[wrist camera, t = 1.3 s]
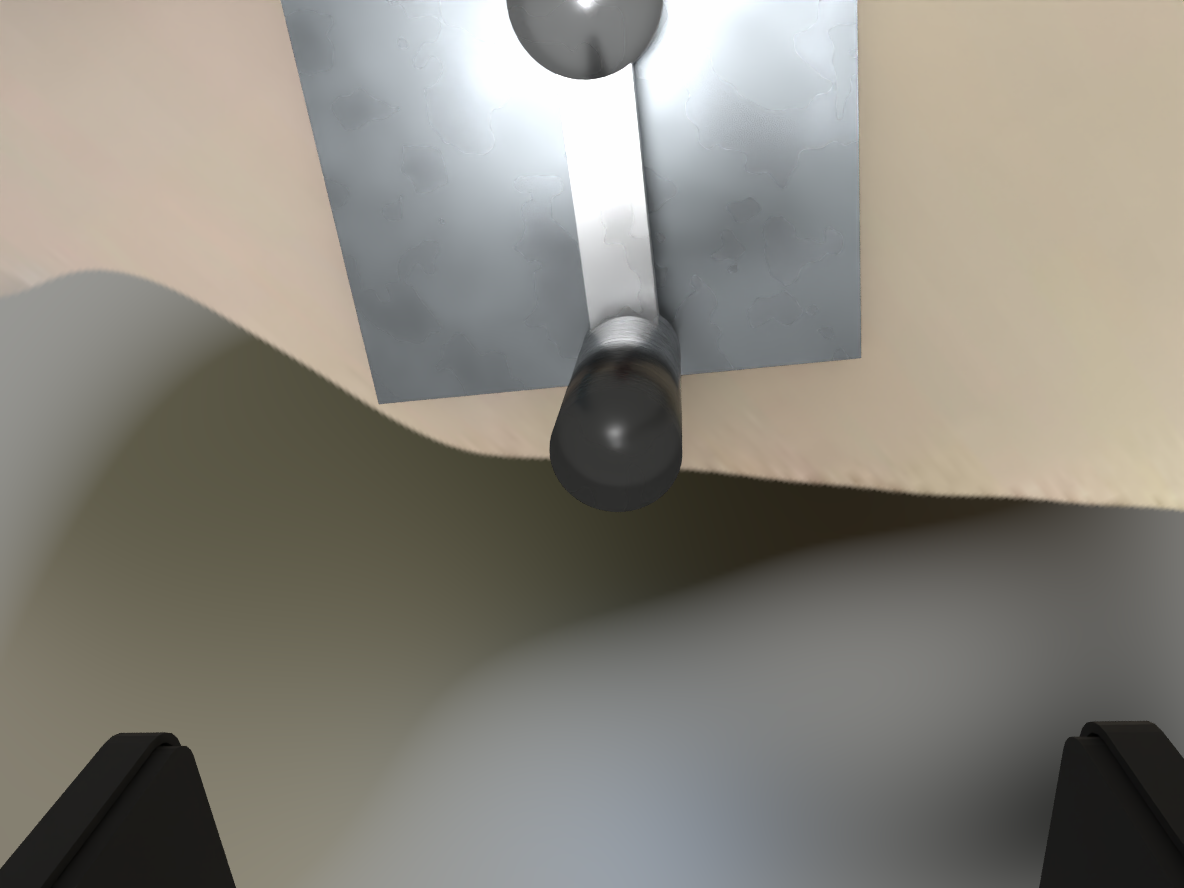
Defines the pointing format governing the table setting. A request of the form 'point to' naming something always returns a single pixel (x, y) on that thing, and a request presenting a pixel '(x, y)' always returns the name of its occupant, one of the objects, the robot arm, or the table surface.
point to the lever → (610, 258)
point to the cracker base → (544, 196)
